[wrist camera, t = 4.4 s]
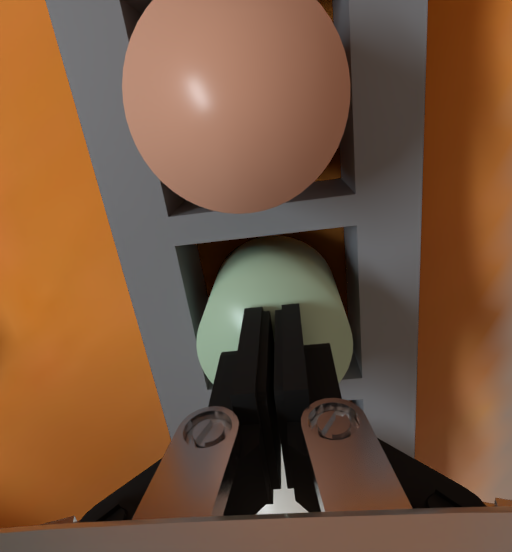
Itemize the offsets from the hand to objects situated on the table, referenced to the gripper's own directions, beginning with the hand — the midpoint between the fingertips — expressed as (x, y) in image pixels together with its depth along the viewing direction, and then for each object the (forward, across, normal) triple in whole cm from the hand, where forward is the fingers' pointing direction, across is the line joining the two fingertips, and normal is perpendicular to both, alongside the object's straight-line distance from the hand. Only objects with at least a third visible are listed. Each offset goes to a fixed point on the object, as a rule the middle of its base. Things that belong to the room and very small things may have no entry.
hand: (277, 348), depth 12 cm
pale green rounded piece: (+4, 0, 0) cm, 4 cm away
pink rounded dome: (+3, 0, -7) cm, 7 cm away
